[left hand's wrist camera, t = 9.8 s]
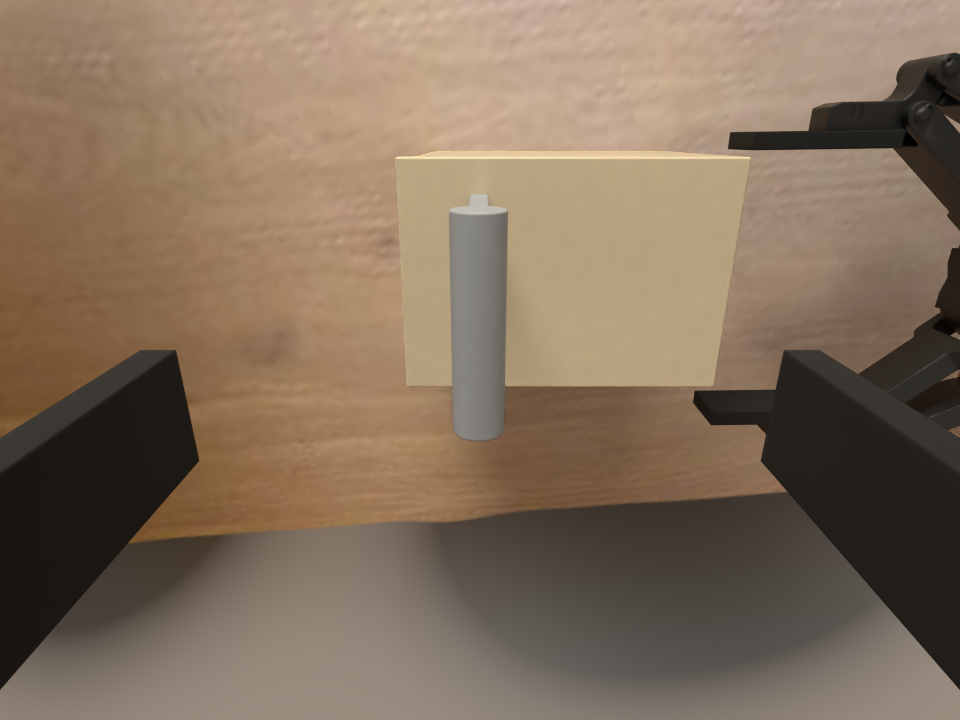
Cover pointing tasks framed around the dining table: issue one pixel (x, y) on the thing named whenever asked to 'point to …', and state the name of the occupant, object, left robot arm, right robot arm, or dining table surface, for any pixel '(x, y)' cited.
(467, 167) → the lid
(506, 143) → the dining table surface
